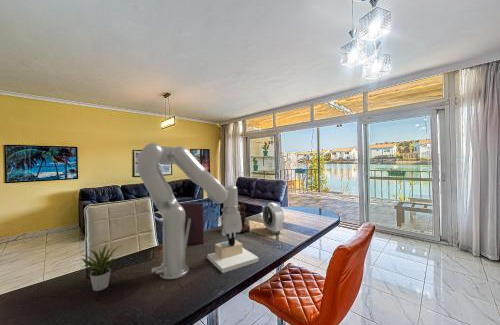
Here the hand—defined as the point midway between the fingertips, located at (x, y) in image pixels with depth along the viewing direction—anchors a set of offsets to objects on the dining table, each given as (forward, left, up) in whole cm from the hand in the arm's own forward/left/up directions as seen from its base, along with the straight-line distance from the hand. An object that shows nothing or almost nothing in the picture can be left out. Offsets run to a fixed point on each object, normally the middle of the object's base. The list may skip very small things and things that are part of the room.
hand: (231, 244), depth 113 cm
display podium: (0, -1, -7) cm, 7 cm away
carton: (0, +3, -5) cm, 6 cm away
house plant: (-55, +9, -7) cm, 57 cm away
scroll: (+27, +38, -8) cm, 47 cm away
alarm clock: (+46, +23, -7) cm, 51 cm away
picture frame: (-13, +31, -7) cm, 34 cm away
